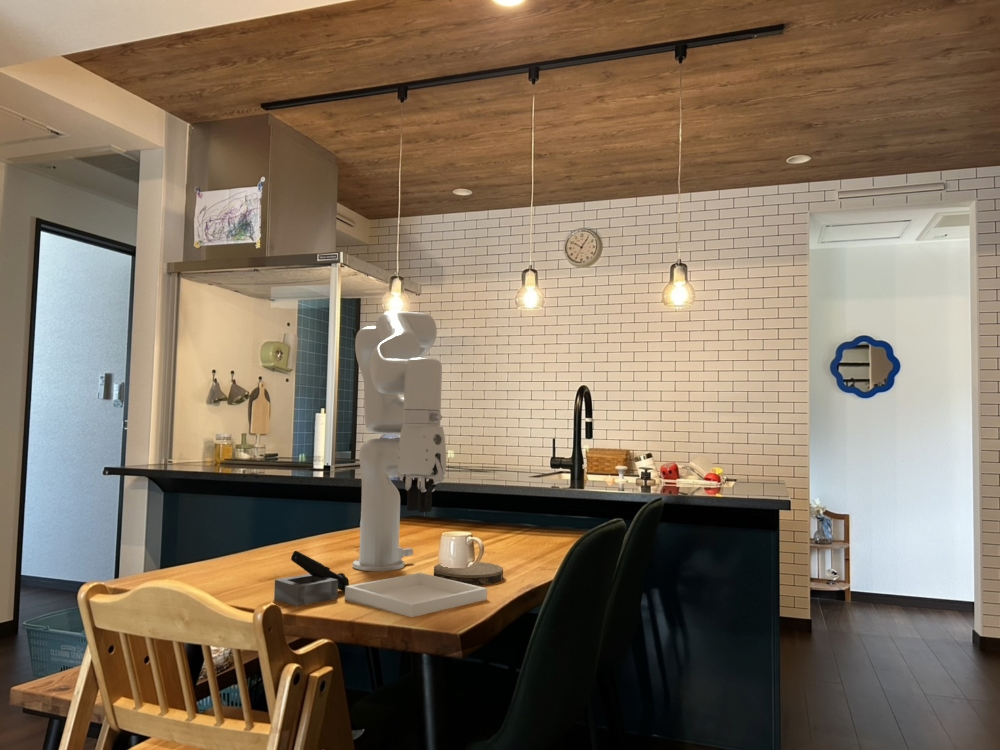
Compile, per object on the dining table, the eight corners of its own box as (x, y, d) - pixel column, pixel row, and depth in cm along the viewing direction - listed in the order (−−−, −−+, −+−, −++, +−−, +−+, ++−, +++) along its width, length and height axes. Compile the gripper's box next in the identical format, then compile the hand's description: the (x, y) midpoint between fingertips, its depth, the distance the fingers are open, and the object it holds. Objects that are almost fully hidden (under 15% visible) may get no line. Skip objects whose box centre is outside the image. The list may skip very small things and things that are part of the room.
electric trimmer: (283, 561, 152) (291, 547, 153) (337, 588, 162) (345, 574, 163) (292, 567, 149) (301, 552, 150) (347, 594, 159) (355, 579, 160)
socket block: (313, 592, 159) (314, 573, 159) (337, 600, 153) (338, 579, 153) (274, 600, 152) (275, 579, 152) (297, 607, 146) (298, 586, 147)
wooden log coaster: (465, 571, 186) (465, 558, 187) (516, 581, 176) (517, 568, 177) (418, 581, 174) (419, 567, 174) (471, 592, 164) (471, 578, 164)
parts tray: (419, 586, 167) (420, 572, 167) (486, 603, 154) (487, 588, 154) (344, 601, 152) (345, 586, 152) (411, 621, 139) (412, 604, 139)
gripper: (463, 420, 152) (460, 513, 151) (409, 419, 163) (406, 506, 162) (435, 419, 147) (433, 516, 146) (381, 418, 157) (378, 508, 156)
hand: (419, 510), depth 154 cm, fingers closed
